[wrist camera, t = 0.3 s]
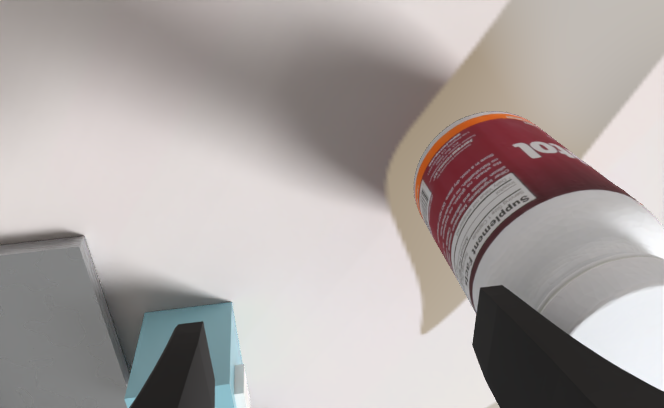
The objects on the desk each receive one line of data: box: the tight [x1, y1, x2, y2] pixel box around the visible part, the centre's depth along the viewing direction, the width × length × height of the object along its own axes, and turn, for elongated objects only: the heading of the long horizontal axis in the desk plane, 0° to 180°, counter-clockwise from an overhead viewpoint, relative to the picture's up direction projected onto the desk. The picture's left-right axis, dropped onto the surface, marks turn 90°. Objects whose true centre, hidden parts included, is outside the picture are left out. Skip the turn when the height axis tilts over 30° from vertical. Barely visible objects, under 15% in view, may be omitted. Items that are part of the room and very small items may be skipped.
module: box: [124, 302, 250, 408], centre depth 24 cm, size 5×4×5 cm
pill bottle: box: [414, 111, 664, 391], centre depth 19 cm, size 6×6×11 cm
